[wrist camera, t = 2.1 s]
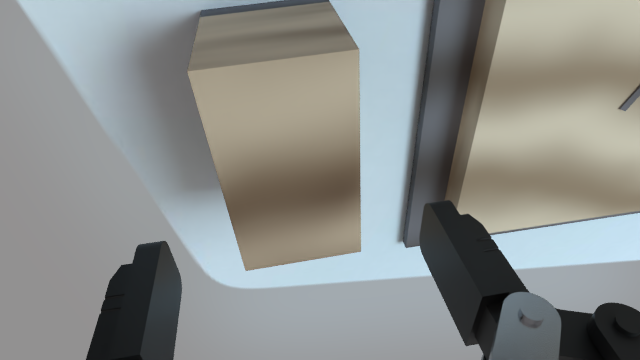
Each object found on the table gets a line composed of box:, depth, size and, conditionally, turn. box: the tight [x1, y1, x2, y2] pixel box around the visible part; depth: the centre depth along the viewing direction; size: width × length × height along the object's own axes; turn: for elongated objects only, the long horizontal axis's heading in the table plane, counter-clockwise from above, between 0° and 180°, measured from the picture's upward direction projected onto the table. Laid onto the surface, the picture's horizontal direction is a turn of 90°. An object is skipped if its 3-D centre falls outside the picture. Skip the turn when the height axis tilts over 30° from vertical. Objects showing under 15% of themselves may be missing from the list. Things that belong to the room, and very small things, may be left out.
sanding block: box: [187, 0, 361, 271], centre depth 17 cm, size 9×5×6 cm, turn 4°
